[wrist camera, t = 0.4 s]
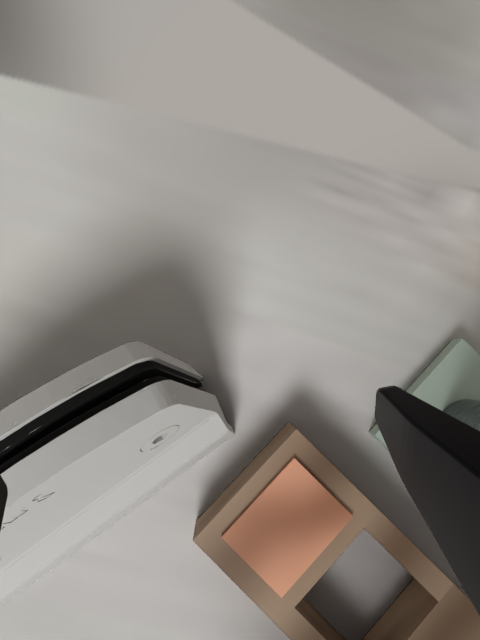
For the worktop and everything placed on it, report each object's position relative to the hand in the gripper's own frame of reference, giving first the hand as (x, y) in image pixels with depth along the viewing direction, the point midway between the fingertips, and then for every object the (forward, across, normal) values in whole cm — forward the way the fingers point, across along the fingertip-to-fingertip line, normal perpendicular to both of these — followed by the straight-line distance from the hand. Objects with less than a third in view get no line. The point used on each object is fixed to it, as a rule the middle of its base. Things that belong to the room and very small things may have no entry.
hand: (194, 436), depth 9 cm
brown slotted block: (+6, -6, +18) cm, 20 cm away
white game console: (+11, +8, +11) cm, 18 cm away
